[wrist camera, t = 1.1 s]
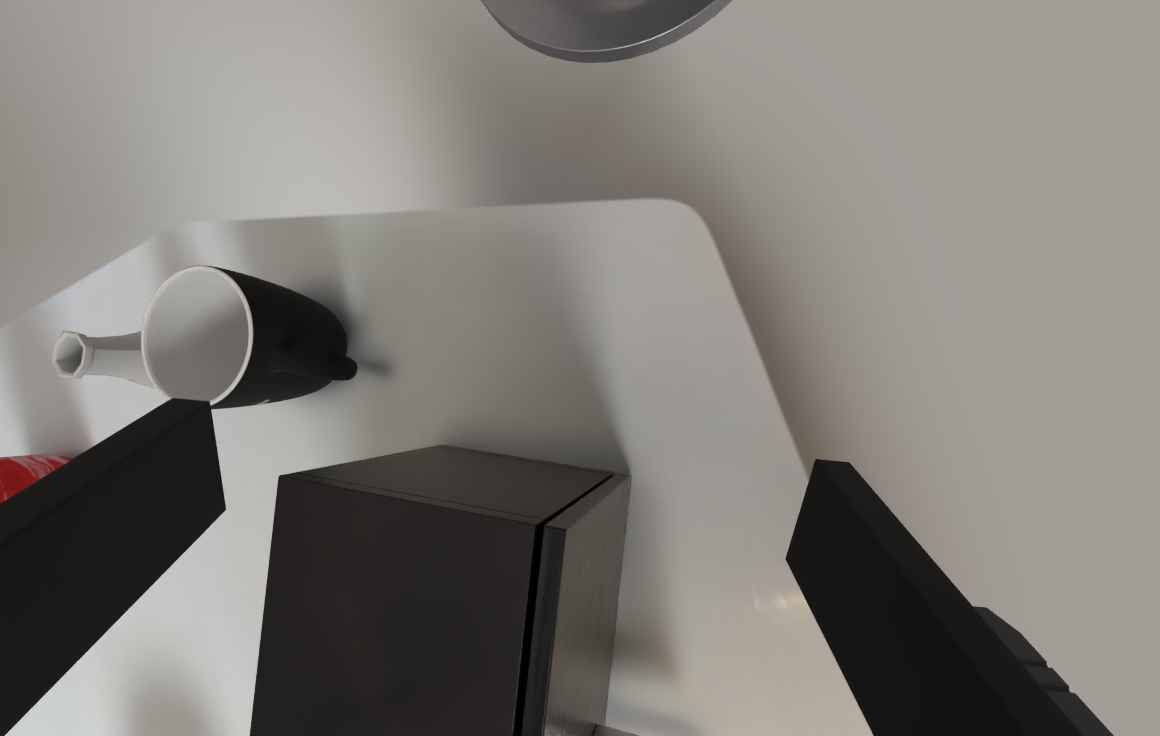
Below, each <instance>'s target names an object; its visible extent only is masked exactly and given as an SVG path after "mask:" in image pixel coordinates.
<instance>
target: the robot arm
mask: <svg viewBox="0 0 1160 736" xmlns="http://www.w3.org/2000/svg"><path fill="white" fill-rule="evenodd" d="M225 510H226V506H225V499H224V493H223V486H222V479H221V473H220V466H219V459H218V453H217V446H216V439H215V432H214V426H213V419H212V412H211V406H210V401H201V400H191V399H181V398H172V399H170V400H168V401H167V402H165V403H164V404H162V405H160V406H159V407H157V408H155V409H154V410H152V411H150V412H149V413H147V414H146V415H144V416H142V417H141V418H139V419H137V420H136V421H134V422H133V423H131V424H129V425H128V426H126V427H124V428H123V429H121V430H119V431H118V432H116V433H115V434H113V435H111V436H110V437H108V438H106V439H105V440H103V441H101V442H100V443H98V444H97V445H95V446H93V447H92V448H90V449H88V450H87V451H85V452H84V453H82V454H80V455H79V456H77V457H75V458H74V459H72V460H70V461H69V462H67V463H66V464H64V465H62V466H61V467H59V468H57V469H56V470H54V471H53V472H51V473H49V474H48V475H46V476H44V477H43V478H41V479H39V480H38V481H36V482H35V483H33V484H31V485H30V486H28V487H26V488H25V489H23V490H21V491H20V492H18V493H17V494H15V495H13V496H12V497H10V498H8V499H7V500H5V501H4V502H2V503H0V736H5V735H6V734H7V733H8V732H9V730H10V729H11V728H12V727H13V726H14V725H15V724H16V723H17V722H18V721H19V720H20V719H21V718H22V717H23V716H24V715H25V714H26V713H27V712H28V711H29V710H30V709H31V708H32V707H33V706H34V705H35V704H36V703H37V702H38V701H39V700H40V699H41V698H42V697H43V696H44V695H45V694H46V693H47V692H48V691H49V690H50V689H51V688H52V687H53V686H54V685H55V684H56V683H57V682H58V681H59V679H60V678H61V677H62V676H63V675H64V674H65V673H66V672H67V671H68V670H69V669H70V668H71V667H72V666H73V665H74V664H75V663H76V662H77V661H78V660H79V659H80V658H81V657H82V656H83V655H84V654H85V653H86V652H87V651H88V650H89V649H90V648H91V647H92V646H93V645H94V644H95V643H96V642H97V641H98V640H99V639H100V638H101V637H102V636H103V635H104V634H105V633H106V632H107V631H108V630H109V628H110V627H111V626H112V625H113V624H114V623H115V622H116V621H117V620H118V619H119V618H120V617H121V616H122V615H123V614H124V613H125V612H126V611H127V610H128V609H129V608H130V607H131V606H132V605H133V604H134V603H135V602H136V601H137V600H138V599H139V598H140V597H141V596H142V595H143V594H144V593H145V592H146V591H147V590H148V589H149V588H150V587H151V586H152V585H153V584H154V583H155V582H156V581H157V580H158V579H159V577H160V576H161V575H162V574H163V573H164V572H165V571H166V570H167V569H168V568H169V567H170V566H171V565H172V564H173V563H174V562H175V561H176V560H177V559H178V558H179V557H180V556H181V555H182V554H183V553H184V552H185V551H186V550H187V549H188V548H189V547H190V546H191V545H192V544H193V543H194V542H195V541H196V540H197V539H198V538H199V537H200V536H201V535H202V534H203V533H204V532H205V531H206V530H207V529H208V528H209V526H210V525H211V524H212V523H213V522H214V521H215V520H216V519H217V518H218V517H219V516H220V515H221V514H222V513H223V512H224V511H225ZM786 561H787V563H788V565H789V567H790V569H791V571H792V573H793V575H794V577H795V579H796V581H797V583H798V585H799V587H800V589H801V591H802V593H803V595H804V597H805V599H806V601H807V603H808V605H809V607H810V609H811V611H812V613H813V615H814V617H815V619H816V621H817V623H818V625H819V627H820V629H821V631H822V633H823V635H824V637H825V639H826V641H827V643H828V645H829V647H830V649H831V651H832V653H833V655H834V657H835V659H836V661H837V663H838V665H839V667H840V669H841V671H842V673H843V675H844V677H845V679H846V681H847V683H848V685H849V687H850V689H851V691H852V693H853V695H854V697H855V699H856V701H857V703H858V705H859V707H860V709H861V711H862V713H863V715H864V717H865V719H866V721H867V723H868V725H869V727H870V729H871V731H872V733H873V735H874V736H1113V735H1112V733H1111V732H1110V731H1109V730H1108V729H1107V728H1106V727H1105V726H1104V725H1103V723H1102V722H1101V721H1100V720H1099V719H1098V718H1097V717H1096V716H1095V715H1094V714H1093V712H1092V711H1091V710H1090V709H1089V708H1088V707H1087V706H1086V705H1085V704H1084V703H1083V702H1082V700H1081V699H1080V698H1079V697H1078V696H1077V695H1076V694H1075V693H1071V692H1070V691H1069V686H1068V685H1067V684H1066V683H1065V682H1064V681H1063V679H1061V677H1060V676H1059V675H1058V674H1057V673H1056V672H1055V671H1054V670H1053V668H1048V667H1047V664H1046V663H1047V662H1046V661H1045V660H1044V659H1043V658H1042V656H1041V655H1040V654H1039V653H1038V652H1037V651H1036V650H1035V649H1034V647H1033V646H1032V645H1031V644H1030V643H1029V642H1028V641H1027V640H1026V639H1025V638H1024V636H1022V634H1021V633H1020V632H1018V631H1017V630H1016V629H1014V628H1013V627H1012V626H1010V625H1009V624H1008V623H1006V622H1005V621H1004V620H1002V619H1001V618H1000V617H998V616H997V615H996V614H994V613H993V612H992V611H990V610H989V609H988V608H985V607H973V606H972V605H971V604H970V603H969V602H968V600H967V599H966V598H965V597H964V596H963V595H962V593H961V592H960V591H959V590H958V589H957V588H956V586H954V584H953V583H952V582H951V581H950V579H949V578H948V577H947V576H946V575H945V574H944V572H943V571H942V570H941V569H940V568H939V567H938V565H937V564H936V563H935V562H934V561H933V560H932V558H931V557H930V556H929V555H928V554H927V553H926V551H925V550H924V549H923V548H922V547H921V545H920V544H919V543H918V542H917V541H916V540H915V539H914V537H913V536H912V535H911V534H910V533H909V532H908V530H907V529H906V528H905V527H904V526H903V524H901V522H900V521H899V520H898V519H897V517H896V516H895V515H894V514H893V513H892V512H891V510H889V508H888V507H887V506H886V505H885V503H884V502H883V501H882V500H881V499H880V498H879V496H878V495H877V494H876V493H875V492H874V491H873V490H872V488H871V487H870V486H869V485H868V484H867V482H866V481H865V480H864V479H863V478H862V477H861V475H860V474H859V473H858V472H857V471H856V470H855V468H854V467H853V466H852V465H851V464H850V463H849V462H839V461H828V460H818V459H816V460H815V463H814V466H813V470H812V473H811V476H810V479H809V483H808V486H807V489H806V493H805V496H804V499H803V503H802V506H801V509H800V513H799V516H798V519H797V522H796V526H795V529H794V532H793V536H792V539H791V542H790V546H789V549H788V552H787V556H786Z"/></svg>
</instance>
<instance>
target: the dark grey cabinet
mask: <svg viewBox="0 0 1160 736" xmlns="http://www.w3.org/2000/svg"><path fill="white" fill-rule="evenodd" d="M612 477H613V472H610V471H603V470H597V469H591V468H584V467H578V466H572V465H565V464H559V463H553V462H546V461H540V460H534V459H527V458H521V457H514V456H508V455H502V454H495V453H489V452H483V451H476V450H470V449H464V448H457V447H451V446H445V445H438V446H433V447H427V448H422V449H417V450H412V451H406V452H401V453H396V454H391V455H385V456H380V457H375V458H370V459H364V460H359V461H354V462H349V463H343V464H338V465H333V466H328V467H322V468H317V469H312V470H307V471H301V472H296V473H291V474H286V475H280V476H279V478H278V487H277V496H276V505H275V514H274V523H273V532H272V541H271V550H270V559H269V568H268V577H267V586H266V595H265V604H264V613H263V622H262V631H261V640H260V648H259V657H258V666H257V675H256V684H255V693H254V702H253V711H252V720H251V729H250V736H521V727H522V718H523V709H524V700H525V690H526V681H527V672H528V663H529V654H530V644H531V635H532V626H533V617H534V608H535V598H536V589H537V580H538V571H539V562H540V552H541V543H542V534H543V526H544V525H545V524H547V523H548V522H549V521H551V520H552V519H554V518H555V517H557V516H558V515H559V514H561V513H562V512H564V511H565V510H566V509H568V508H569V507H571V506H572V505H573V504H575V503H576V502H578V501H579V500H581V499H582V498H583V497H585V496H586V495H588V494H589V493H590V492H592V491H593V490H595V489H596V488H597V487H599V486H600V485H602V484H603V483H605V482H606V481H607V480H609V479H610V478H612Z"/></svg>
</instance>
